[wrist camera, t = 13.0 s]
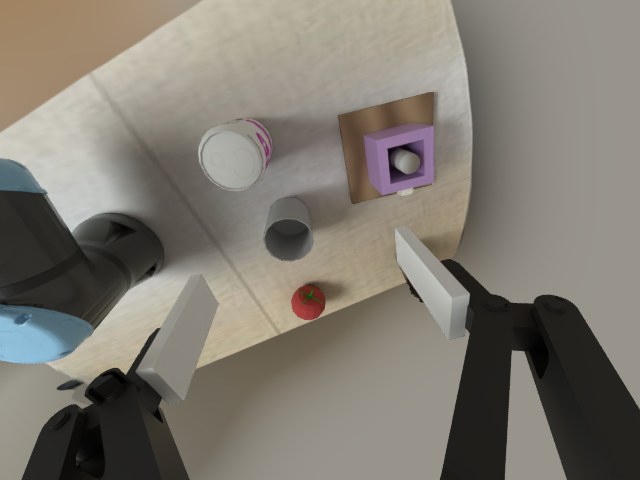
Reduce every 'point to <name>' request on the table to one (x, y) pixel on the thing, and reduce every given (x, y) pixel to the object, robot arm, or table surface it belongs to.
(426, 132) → the purple planter box
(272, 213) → the cup
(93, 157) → the table surface
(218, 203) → the table surface
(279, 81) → the table surface
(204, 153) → the supplement can
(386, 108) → the post board
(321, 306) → the tomato
